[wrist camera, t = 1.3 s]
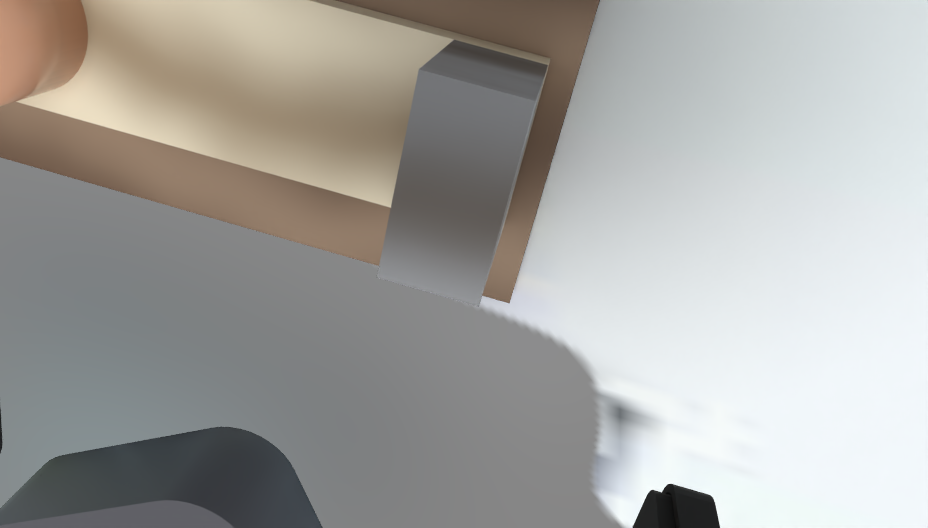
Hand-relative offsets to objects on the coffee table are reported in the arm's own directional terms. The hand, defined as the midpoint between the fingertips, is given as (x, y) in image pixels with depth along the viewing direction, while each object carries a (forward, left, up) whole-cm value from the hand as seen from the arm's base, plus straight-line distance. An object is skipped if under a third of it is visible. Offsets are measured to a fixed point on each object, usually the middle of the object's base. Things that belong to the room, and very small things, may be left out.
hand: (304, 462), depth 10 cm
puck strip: (0, -9, -17) cm, 19 cm away
